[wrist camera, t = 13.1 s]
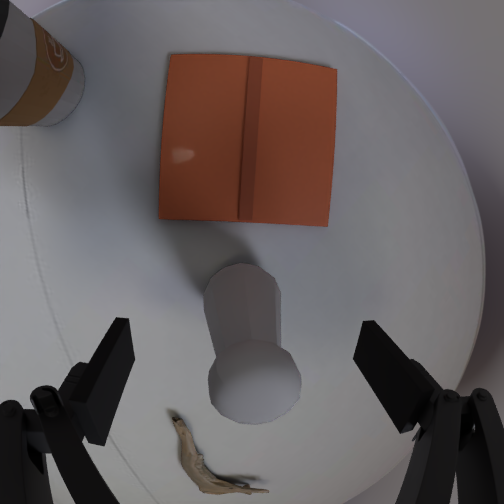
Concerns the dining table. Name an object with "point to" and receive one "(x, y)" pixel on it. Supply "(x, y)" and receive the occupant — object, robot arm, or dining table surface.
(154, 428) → the dining table surface
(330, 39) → the dining table surface
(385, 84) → the dining table surface
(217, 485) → the curved driftwood piece
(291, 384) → the salt shaker
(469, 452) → the robot arm
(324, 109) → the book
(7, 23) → the coffee cup
